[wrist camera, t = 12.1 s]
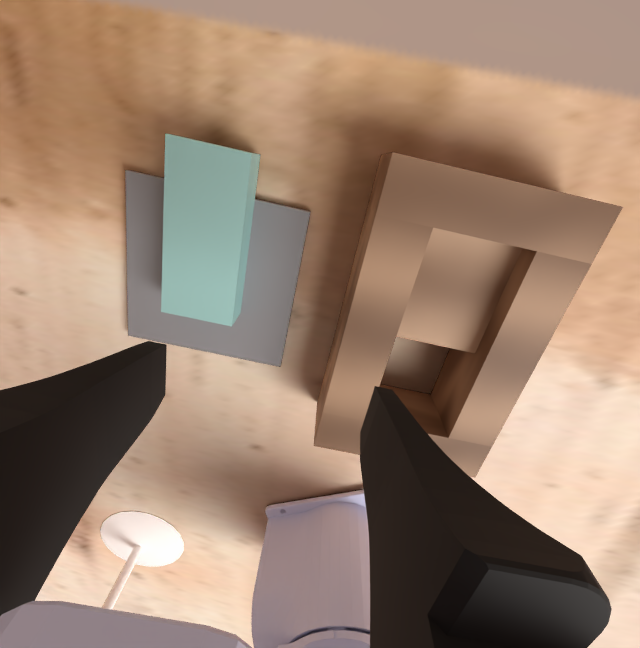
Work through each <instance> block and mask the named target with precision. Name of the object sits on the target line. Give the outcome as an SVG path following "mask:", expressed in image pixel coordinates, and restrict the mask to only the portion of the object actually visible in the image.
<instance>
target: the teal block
mask: <svg viewBox="0 0 640 648" xmlns="http://www.w3.org/2000/svg"><path fill="white" fill-rule="evenodd" d="M259 163H260V154H256V153H251V152H247V151H243V150H238V149H234V148H230V147H225V146H221V145H217V144H212V143H208V142H204V141H199V140H195V139H191V138H186V137H182V136H177V135H171V134H166V133H165V167H164V210H163V252H162V294H161V312H164V313H169V314H174V315H179V316H184V317H189V318H193V319H198V320H203V321H208V322H213V323H217V324H222V325H227V326H232V325H233V324H234V322H235V321H236V319H237V318H238V316H239V315H240V313H241V305H242V298H243V290H244V282H245V274H246V266H247V258H248V250H249V242H250V234H251V226H252V218H253V210H254V202H255V194H256V186H257V178H258V171H259Z"/></svg>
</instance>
